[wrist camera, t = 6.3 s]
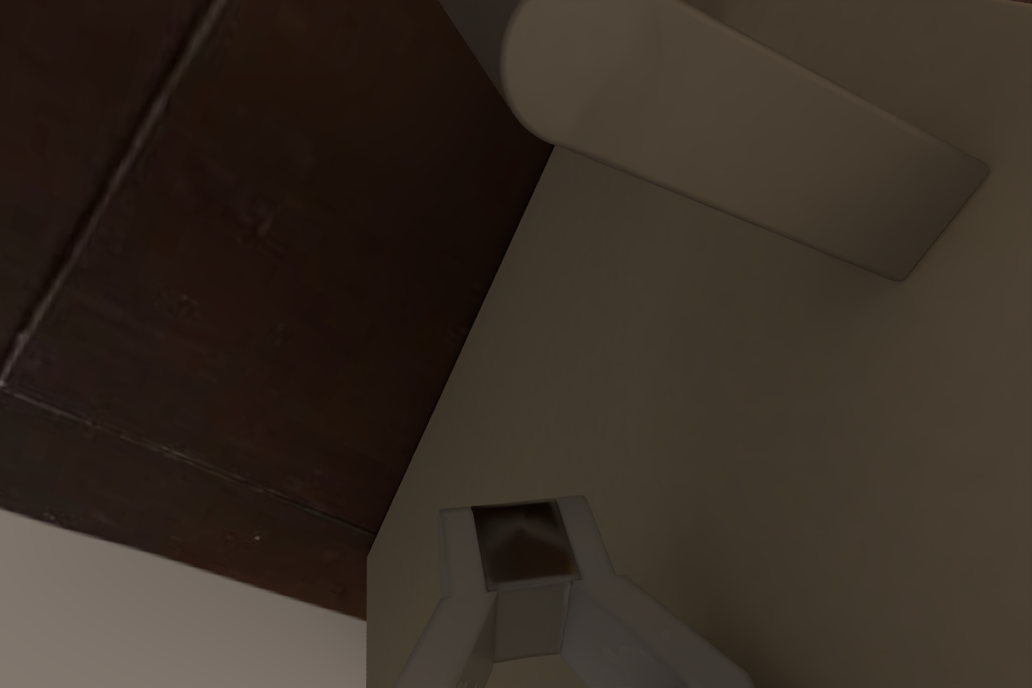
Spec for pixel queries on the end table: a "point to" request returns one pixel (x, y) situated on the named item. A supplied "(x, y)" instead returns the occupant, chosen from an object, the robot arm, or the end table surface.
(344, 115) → the end table surface
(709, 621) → the door
